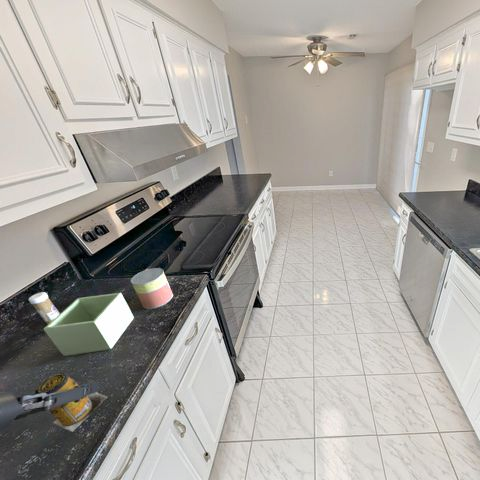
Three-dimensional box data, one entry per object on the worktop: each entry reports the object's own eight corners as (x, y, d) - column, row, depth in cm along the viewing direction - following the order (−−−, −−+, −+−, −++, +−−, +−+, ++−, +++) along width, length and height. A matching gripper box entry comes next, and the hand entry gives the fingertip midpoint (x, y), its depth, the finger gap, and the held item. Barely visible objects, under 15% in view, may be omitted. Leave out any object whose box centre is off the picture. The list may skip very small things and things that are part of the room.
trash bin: (63, 356, 82) (43, 329, 77) (93, 323, 95) (77, 298, 90) (111, 349, 83) (94, 322, 78) (134, 317, 96) (121, 292, 91)
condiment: (52, 423, 61) (23, 392, 56) (89, 390, 69) (67, 360, 63) (73, 432, 59) (44, 401, 54) (109, 397, 66) (87, 367, 61)
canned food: (178, 296, 107) (168, 272, 101) (150, 312, 98) (138, 287, 93) (164, 288, 113) (155, 265, 107) (137, 302, 104) (125, 278, 99)
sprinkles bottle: (63, 324, 96) (44, 296, 90) (47, 330, 93) (26, 301, 87) (65, 317, 99) (46, 290, 93) (50, 323, 97) (29, 295, 91)
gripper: (-100, 457, 42) (40, 411, 64) (27, 436, 43) (120, 398, 65) (-83, 405, 44) (46, 378, 66) (36, 387, 46) (123, 366, 68)
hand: (83, 388), depth 66 cm, fingers closed on condiment, 6 cm apart
